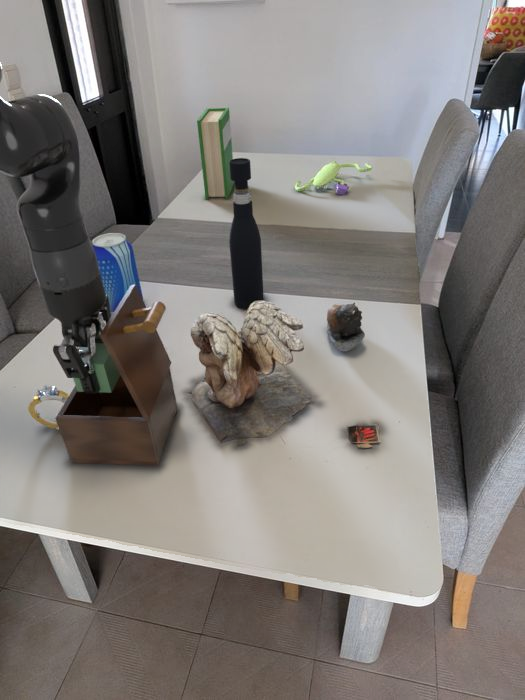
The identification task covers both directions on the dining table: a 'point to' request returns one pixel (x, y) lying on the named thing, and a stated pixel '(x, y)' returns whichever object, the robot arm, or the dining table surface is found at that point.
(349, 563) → the dining table surface
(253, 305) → the cherub figurine
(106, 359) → the block
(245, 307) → the black bottle
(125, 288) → the beer can
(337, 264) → the dining table surface
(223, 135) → the hardback book
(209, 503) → the dining table surface
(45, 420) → the ring
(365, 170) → the figurine
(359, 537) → the dining table surface
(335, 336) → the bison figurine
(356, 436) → the matchbox
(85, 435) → the chest
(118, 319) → the lid
